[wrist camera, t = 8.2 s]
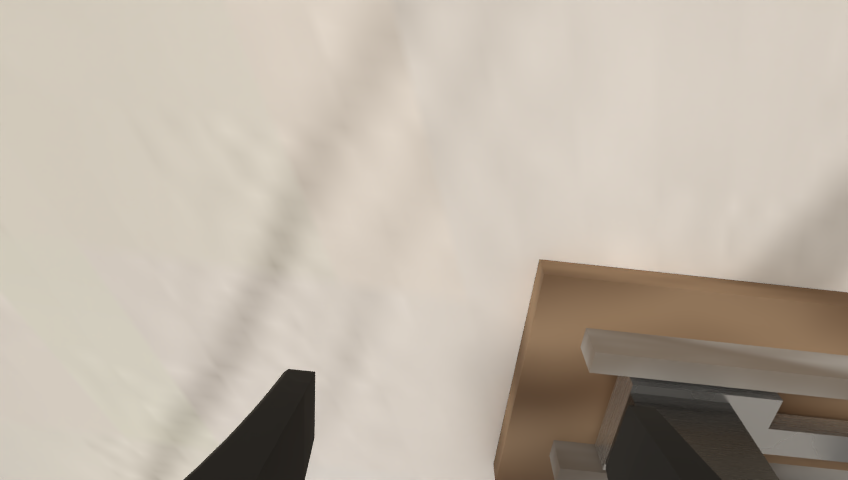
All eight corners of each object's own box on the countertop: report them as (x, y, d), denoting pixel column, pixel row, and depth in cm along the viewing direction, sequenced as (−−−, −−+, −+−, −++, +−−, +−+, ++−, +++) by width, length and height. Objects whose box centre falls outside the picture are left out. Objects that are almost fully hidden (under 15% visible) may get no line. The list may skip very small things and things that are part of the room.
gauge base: (859, 502, 28) (962, 634, 22) (493, 463, 28) (504, 587, 22) (993, 308, 22) (1173, 419, 17) (539, 259, 22) (569, 355, 17)
